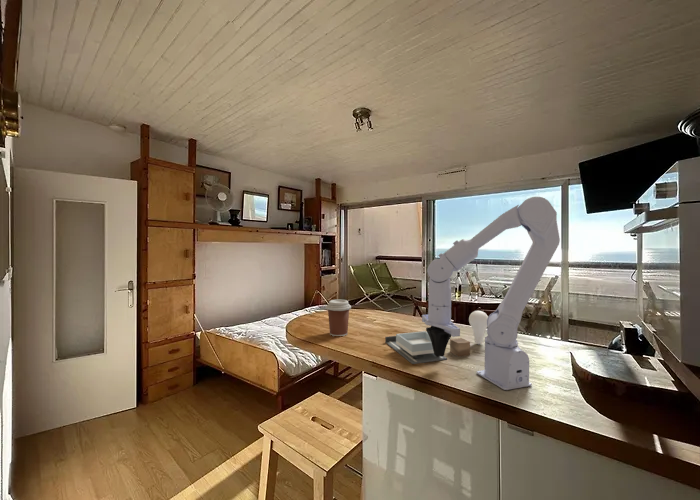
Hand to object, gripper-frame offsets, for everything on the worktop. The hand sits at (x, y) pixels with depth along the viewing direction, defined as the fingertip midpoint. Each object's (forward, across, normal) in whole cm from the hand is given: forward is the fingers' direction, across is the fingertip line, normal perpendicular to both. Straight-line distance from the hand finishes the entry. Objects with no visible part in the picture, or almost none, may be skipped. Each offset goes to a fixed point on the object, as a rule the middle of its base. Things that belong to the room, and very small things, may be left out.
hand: (439, 355), depth 80 cm
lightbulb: (+4, -12, +23) cm, 26 cm away
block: (+3, -7, +12) cm, 15 cm away
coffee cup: (+4, -36, -18) cm, 41 cm away
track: (+3, -14, 0) cm, 14 cm away
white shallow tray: (+3, -10, 0) cm, 11 cm away
